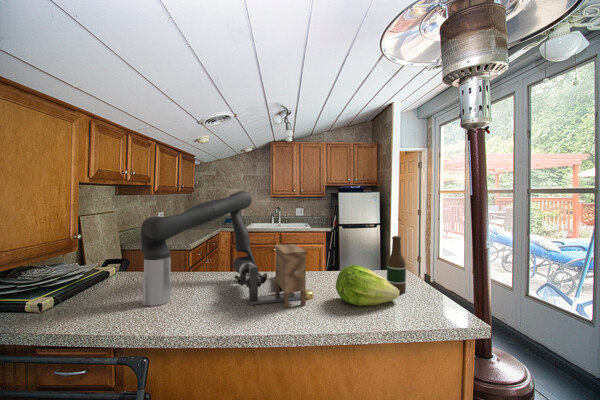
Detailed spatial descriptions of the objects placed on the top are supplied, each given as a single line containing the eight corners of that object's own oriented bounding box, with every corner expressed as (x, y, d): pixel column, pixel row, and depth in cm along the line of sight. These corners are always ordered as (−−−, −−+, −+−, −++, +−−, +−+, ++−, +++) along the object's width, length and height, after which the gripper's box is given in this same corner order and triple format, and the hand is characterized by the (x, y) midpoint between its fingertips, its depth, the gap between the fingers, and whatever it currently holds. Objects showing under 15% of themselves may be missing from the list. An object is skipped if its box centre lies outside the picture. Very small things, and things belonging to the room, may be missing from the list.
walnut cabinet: (284, 309, 100) (284, 253, 99) (274, 293, 116) (274, 245, 116) (307, 306, 102) (308, 251, 102) (294, 291, 119) (294, 244, 119)
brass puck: (303, 300, 109) (303, 294, 109) (299, 296, 114) (299, 290, 114) (315, 299, 110) (315, 293, 110) (310, 295, 115) (311, 289, 115)
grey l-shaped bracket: (250, 305, 103) (250, 268, 103) (248, 301, 107) (248, 265, 106) (302, 299, 109) (303, 264, 109) (299, 295, 113) (300, 261, 113)
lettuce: (383, 305, 116) (396, 328, 100) (329, 286, 114) (335, 306, 99) (397, 274, 114) (413, 292, 98) (343, 254, 113) (350, 269, 97)
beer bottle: (386, 292, 117) (386, 237, 117) (387, 287, 125) (387, 234, 124) (405, 295, 114) (405, 238, 114) (405, 289, 122) (406, 235, 121)
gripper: (232, 265, 117) (235, 276, 100) (264, 262, 121) (272, 273, 105) (232, 282, 117) (235, 296, 100) (264, 279, 121) (272, 292, 105)
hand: (254, 284), depth 103 cm, fingers closed on grey l-shaped bracket, 3 cm apart
